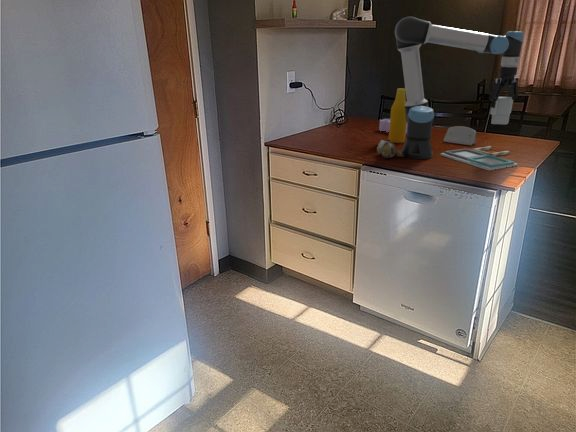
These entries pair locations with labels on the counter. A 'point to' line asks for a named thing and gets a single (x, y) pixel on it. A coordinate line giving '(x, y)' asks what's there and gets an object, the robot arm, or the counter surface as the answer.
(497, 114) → the supplement box
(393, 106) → the beer bottle
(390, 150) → the ceramic sculpture
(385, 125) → the clip
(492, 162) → the pocket plate
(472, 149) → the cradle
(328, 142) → the counter surface
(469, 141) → the gray curved slotted casing
